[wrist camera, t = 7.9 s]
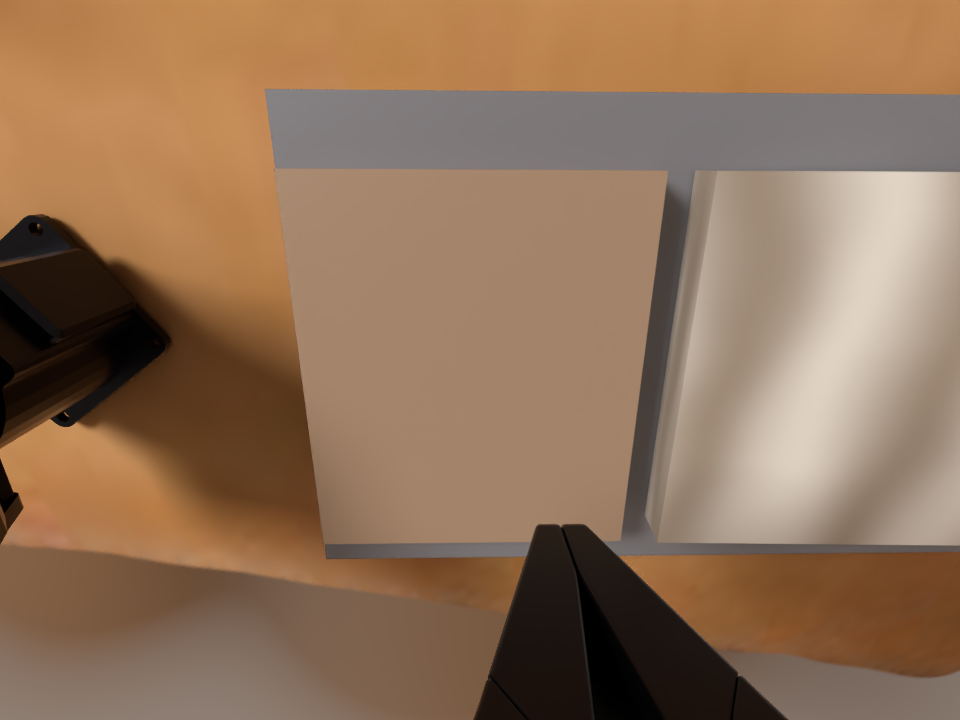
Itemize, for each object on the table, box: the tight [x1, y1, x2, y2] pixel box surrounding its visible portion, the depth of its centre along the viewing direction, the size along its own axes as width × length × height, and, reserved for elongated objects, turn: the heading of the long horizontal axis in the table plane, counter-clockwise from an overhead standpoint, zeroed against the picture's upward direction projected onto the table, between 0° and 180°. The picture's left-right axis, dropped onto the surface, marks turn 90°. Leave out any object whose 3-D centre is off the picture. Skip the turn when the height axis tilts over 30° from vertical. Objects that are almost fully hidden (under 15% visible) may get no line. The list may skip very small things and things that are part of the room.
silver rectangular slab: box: [645, 170, 960, 546], centre depth 16 cm, size 14×12×2 cm
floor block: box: [265, 89, 960, 559], centre depth 18 cm, size 27×16×6 cm, turn 90°
